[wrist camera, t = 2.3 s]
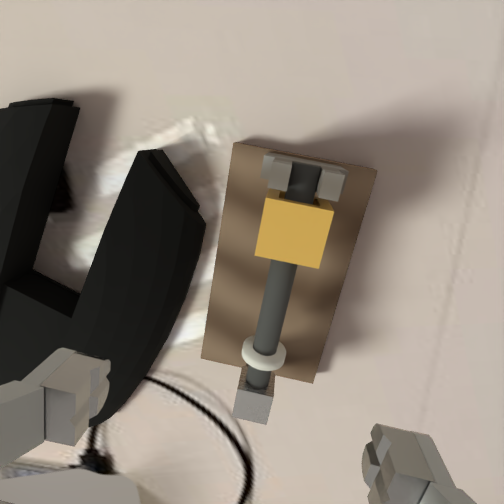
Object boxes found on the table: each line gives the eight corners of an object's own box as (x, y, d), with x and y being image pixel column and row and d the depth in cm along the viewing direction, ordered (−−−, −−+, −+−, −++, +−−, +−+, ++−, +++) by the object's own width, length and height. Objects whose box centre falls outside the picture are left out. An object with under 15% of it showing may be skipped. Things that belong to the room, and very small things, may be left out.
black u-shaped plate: (-68, 374, 44) (-112, 403, 39) (-6, 56, 30) (-62, 41, 25) (105, 458, 45) (84, 495, 40) (242, 192, 31) (234, 202, 26)
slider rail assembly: (236, 142, 29) (211, 145, 20) (373, 168, 29) (410, 184, 20) (204, 349, 37) (175, 419, 28) (312, 373, 36) (318, 453, 27)
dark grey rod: (281, 157, 24) (279, 161, 21) (330, 167, 24) (336, 172, 21) (239, 362, 31) (233, 390, 27) (278, 371, 30) (276, 400, 27)
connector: (248, 340, 34) (237, 389, 27) (277, 346, 34) (273, 397, 27) (243, 363, 35) (231, 416, 28) (271, 370, 35) (266, 424, 28)
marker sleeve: (269, 187, 25) (265, 197, 21) (327, 198, 25) (334, 211, 21) (260, 236, 27) (254, 255, 23) (314, 248, 27) (318, 268, 22)
